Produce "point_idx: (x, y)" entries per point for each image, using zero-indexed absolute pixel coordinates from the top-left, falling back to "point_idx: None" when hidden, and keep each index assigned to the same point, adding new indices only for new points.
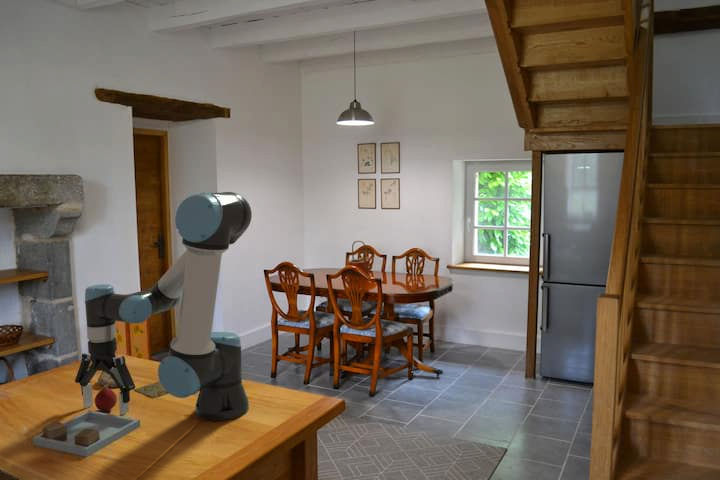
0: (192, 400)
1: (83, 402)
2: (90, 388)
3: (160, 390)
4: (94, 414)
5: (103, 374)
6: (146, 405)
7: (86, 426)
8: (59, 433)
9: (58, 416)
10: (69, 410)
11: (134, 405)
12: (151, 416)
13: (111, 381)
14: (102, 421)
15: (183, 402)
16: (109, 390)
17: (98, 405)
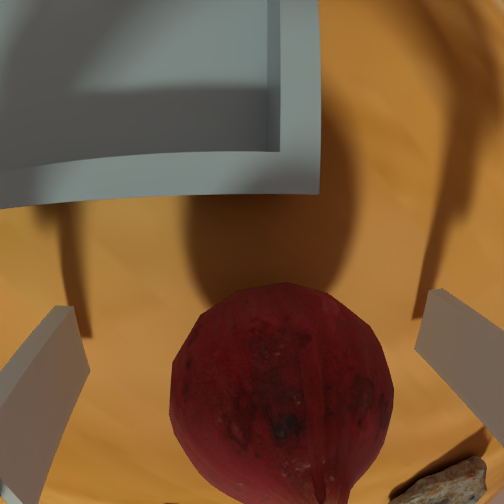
0: None
1: (467, 306)
2: (494, 416)
3: None
4: (202, 153)
5: (476, 488)
6: (114, 458)
7: (161, 24)
8: None
9: (498, 157)
10: (495, 247)
11: (173, 448)
12: None
13: (437, 490)
14: (104, 152)
15: None
16: (246, 500)
17: (274, 289)
